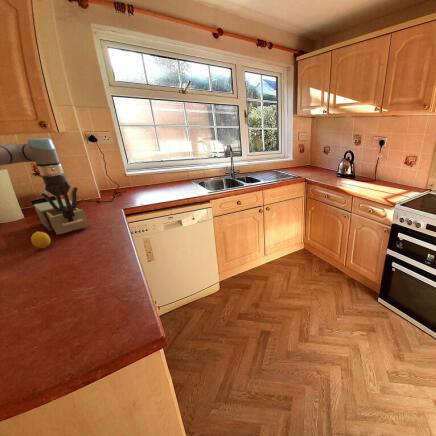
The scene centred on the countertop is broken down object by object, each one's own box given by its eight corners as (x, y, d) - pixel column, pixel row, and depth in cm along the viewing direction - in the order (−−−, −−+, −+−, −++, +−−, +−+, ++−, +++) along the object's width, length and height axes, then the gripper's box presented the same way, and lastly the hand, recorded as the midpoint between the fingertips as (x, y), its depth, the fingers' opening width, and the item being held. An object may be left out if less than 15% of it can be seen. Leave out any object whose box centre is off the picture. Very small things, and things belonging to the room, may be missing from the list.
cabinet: (82, 222, 132) (76, 203, 128) (49, 230, 121) (40, 210, 118) (73, 215, 141) (66, 198, 137) (41, 223, 131) (33, 204, 127)
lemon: (42, 252, 101) (34, 234, 98) (32, 251, 102) (23, 234, 99) (56, 245, 106) (49, 229, 103) (46, 245, 107) (39, 228, 104)
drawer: (92, 228, 121) (86, 211, 118) (60, 237, 112) (52, 219, 108) (78, 219, 133) (73, 204, 130) (48, 227, 124) (41, 210, 120)
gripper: (34, 178, 101) (56, 230, 109) (74, 173, 110) (91, 221, 119) (30, 176, 105) (52, 226, 114) (69, 171, 115) (86, 217, 123)
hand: (72, 223), depth 116 cm, fingers closed
